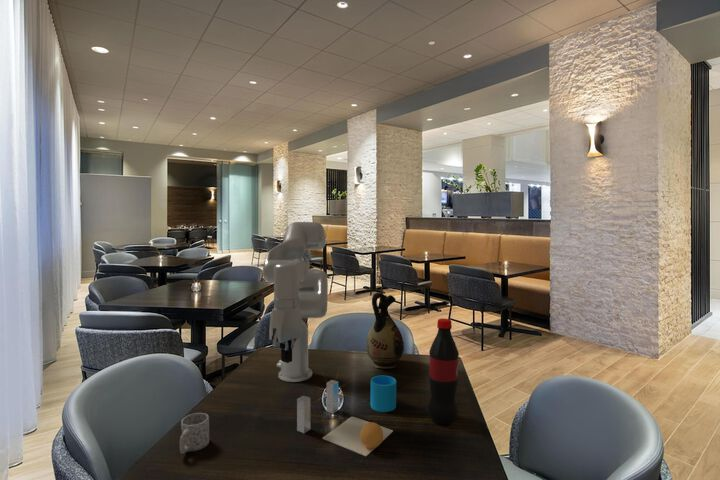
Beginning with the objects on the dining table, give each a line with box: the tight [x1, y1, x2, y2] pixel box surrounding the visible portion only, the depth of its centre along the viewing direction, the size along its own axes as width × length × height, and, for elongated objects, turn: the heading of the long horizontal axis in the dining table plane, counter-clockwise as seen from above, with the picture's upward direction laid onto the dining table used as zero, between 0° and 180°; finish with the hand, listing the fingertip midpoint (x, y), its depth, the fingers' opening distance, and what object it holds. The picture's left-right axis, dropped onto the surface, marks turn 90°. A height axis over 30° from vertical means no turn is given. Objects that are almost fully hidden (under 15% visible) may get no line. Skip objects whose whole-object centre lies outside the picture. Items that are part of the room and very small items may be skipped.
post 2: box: [326, 379, 339, 414], centre depth 118 cm, size 3×3×9 cm
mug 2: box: [369, 375, 397, 413], centre depth 124 cm, size 12×8×8 cm
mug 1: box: [179, 412, 210, 455], centre depth 98 cm, size 10×7×7 cm, turn 174°
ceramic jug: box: [365, 292, 405, 370], centre depth 155 cm, size 17×15×30 cm
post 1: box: [296, 395, 311, 434], centre depth 107 cm, size 3×3×9 cm
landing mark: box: [322, 416, 394, 457], centre depth 105 cm, size 14×14×1 cm
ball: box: [360, 421, 384, 449], centre depth 99 cm, size 6×6×6 cm
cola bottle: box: [427, 317, 459, 425], centre depth 113 cm, size 8×8×30 cm
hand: (286, 361), depth 119 cm, fingers closed
